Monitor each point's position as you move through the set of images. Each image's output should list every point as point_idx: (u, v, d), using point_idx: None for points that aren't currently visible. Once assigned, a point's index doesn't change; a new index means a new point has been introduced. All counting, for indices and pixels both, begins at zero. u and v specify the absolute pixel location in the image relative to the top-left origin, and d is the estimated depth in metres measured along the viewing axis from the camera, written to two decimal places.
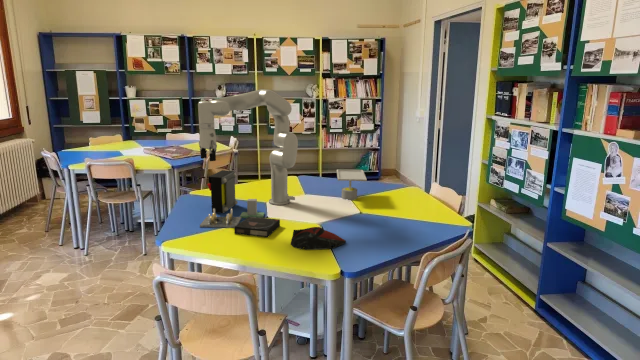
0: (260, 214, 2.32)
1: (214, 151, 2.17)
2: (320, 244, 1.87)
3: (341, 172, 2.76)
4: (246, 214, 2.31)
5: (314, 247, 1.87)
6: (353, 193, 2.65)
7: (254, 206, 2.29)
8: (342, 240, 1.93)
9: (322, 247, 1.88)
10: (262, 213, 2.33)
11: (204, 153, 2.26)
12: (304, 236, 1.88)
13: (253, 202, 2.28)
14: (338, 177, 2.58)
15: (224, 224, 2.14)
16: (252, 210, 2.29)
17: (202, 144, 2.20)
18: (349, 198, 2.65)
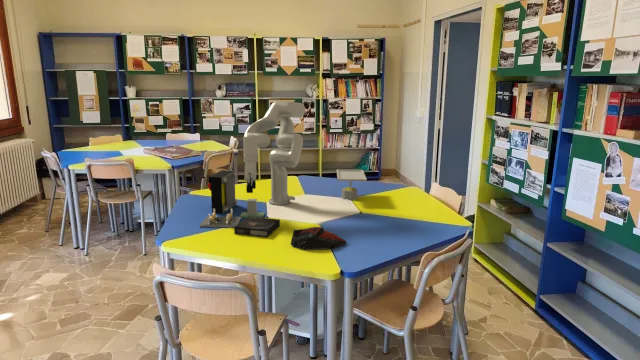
0: (260, 214, 2.32)
1: None
2: (320, 244, 1.87)
3: (341, 172, 2.76)
4: (246, 214, 2.31)
5: (314, 247, 1.87)
6: (353, 193, 2.65)
7: (254, 206, 2.29)
8: (342, 240, 1.93)
9: (322, 247, 1.88)
10: (262, 213, 2.33)
11: None
12: (304, 236, 1.88)
13: (253, 202, 2.28)
14: (338, 177, 2.58)
15: (224, 224, 2.14)
16: (252, 210, 2.29)
17: (255, 176, 2.25)
18: (349, 198, 2.65)
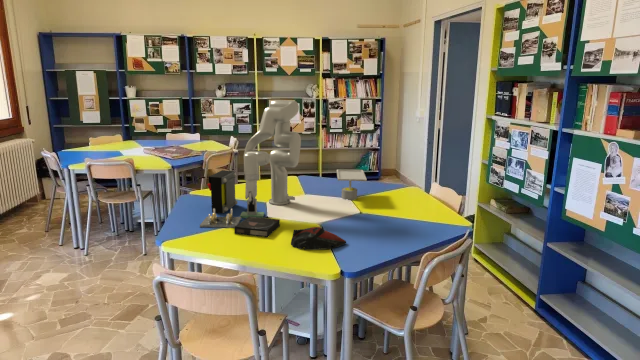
0: (260, 213, 2.32)
1: None
2: (319, 244, 1.87)
3: (341, 172, 2.76)
4: (246, 214, 2.31)
5: (314, 247, 1.87)
6: (353, 193, 2.65)
7: None
8: (342, 241, 1.92)
9: (322, 247, 1.87)
10: (262, 213, 2.33)
11: None
12: (304, 236, 1.88)
13: None
14: (338, 177, 2.58)
15: (224, 224, 2.14)
16: None
17: (255, 194, 2.28)
18: (349, 198, 2.65)
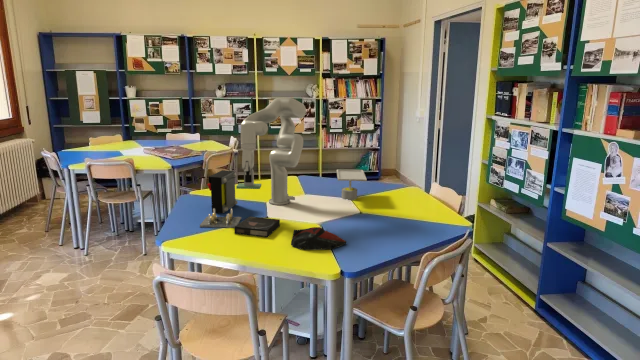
0: (257, 184, 2.27)
1: None
2: (319, 244, 1.87)
3: (341, 172, 2.76)
4: (243, 185, 2.26)
5: (314, 247, 1.87)
6: (353, 193, 2.65)
7: (251, 176, 2.24)
8: (342, 241, 1.92)
9: (322, 247, 1.87)
10: (259, 184, 2.28)
11: None
12: (304, 236, 1.88)
13: None
14: (338, 177, 2.58)
15: (224, 224, 2.14)
16: None
17: (252, 164, 2.23)
18: (349, 198, 2.65)
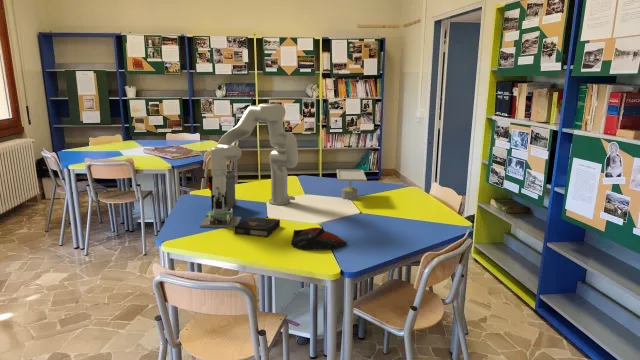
0: (227, 212, 2.19)
1: None
2: (319, 244, 1.86)
3: (341, 172, 2.76)
4: (213, 213, 2.18)
5: (313, 248, 1.86)
6: (353, 193, 2.65)
7: None
8: (342, 241, 1.91)
9: (321, 248, 1.87)
10: (230, 212, 2.20)
11: None
12: (304, 236, 1.88)
13: None
14: (338, 177, 2.58)
15: (224, 224, 2.14)
16: None
17: (223, 190, 2.15)
18: (349, 198, 2.65)
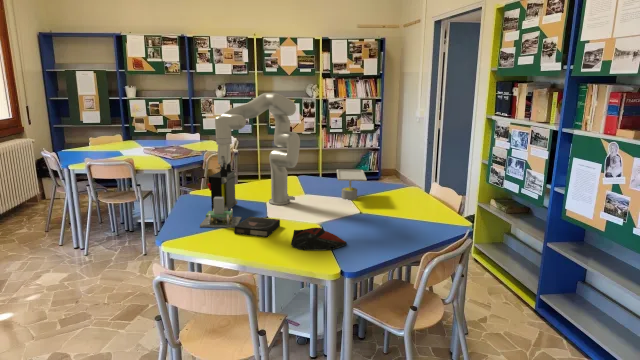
0: (227, 212, 2.19)
1: None
2: (319, 245, 1.86)
3: (341, 172, 2.76)
4: (213, 213, 2.18)
5: (313, 248, 1.86)
6: (353, 193, 2.65)
7: (221, 204, 2.16)
8: (343, 242, 1.91)
9: (321, 248, 1.87)
10: (230, 212, 2.20)
11: None
12: (304, 236, 1.88)
13: (220, 200, 2.16)
14: (338, 177, 2.58)
15: (224, 224, 2.14)
16: (219, 208, 2.16)
17: (229, 159, 2.16)
18: (349, 198, 2.65)
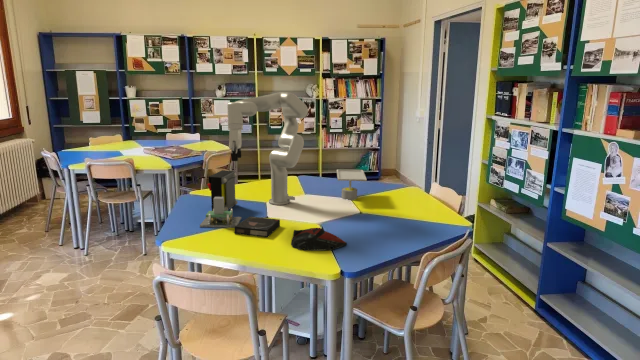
0: (227, 212, 2.19)
1: None
2: (319, 245, 1.86)
3: (341, 172, 2.76)
4: (213, 213, 2.18)
5: (313, 248, 1.86)
6: (353, 193, 2.65)
7: (221, 204, 2.16)
8: (342, 242, 1.91)
9: (321, 248, 1.86)
10: (230, 212, 2.20)
11: None
12: (303, 237, 1.88)
13: (220, 200, 2.16)
14: (338, 177, 2.58)
15: (224, 224, 2.14)
16: (219, 208, 2.16)
17: (239, 144, 2.24)
18: (349, 198, 2.65)
